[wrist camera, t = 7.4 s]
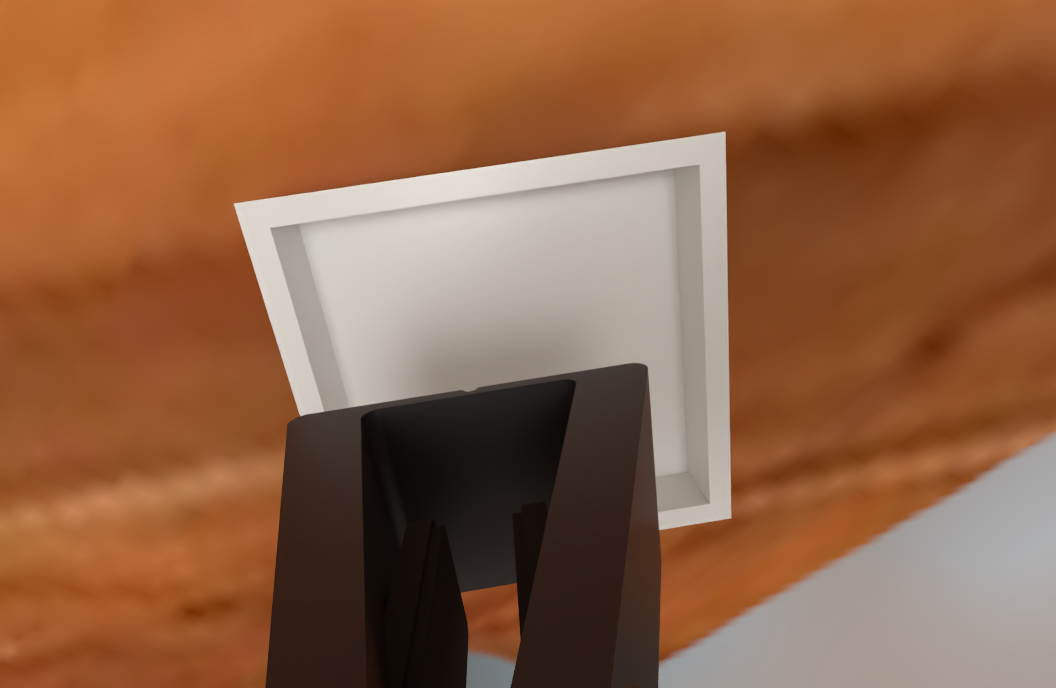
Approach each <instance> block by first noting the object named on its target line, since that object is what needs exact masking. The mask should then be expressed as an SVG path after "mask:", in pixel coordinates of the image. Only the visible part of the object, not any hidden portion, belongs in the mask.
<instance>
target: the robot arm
mask: <svg viewBox="0 0 1056 688" xmlns="http://www.w3.org/2000/svg"><path fill="white" fill-rule="evenodd" d="M521 511H522V512H517V513H512V519H513V533H514V548H515V562H516V577H517V591H518V606H519V620H520V635H521V638H522V633H523V628H524V624H525V619H526V614H527V610H528V605H529V601H530V596H531V591H532V587H533V582H534V577H535V573H536V568H537V564H538V559H539V554H540V550H541V545H542V540H543V536H544V531H545V526H546V522H547V517H548V513H547V507H546V502H545V501H541V502H535V503H529V504H523V505H521ZM385 628H386V642H387V656H388V670H389V684H390V688H466V676H467V655H468V625H467V619H466V615H465V610H464V606H463V602H462V597H461V593H460V588H459V584H458V580H457V575H456V571H455V567H454V562H453V558H452V554H451V549H450V545H449V541H448V536H447V532H446V528H445V526H444V525H439V526H436V523H435V520H427V521H421V522H415V523H409V524H407V526H406V530H405V534H404V538H403V542H402V546H401V550H400V554H399V558H398V562H397V566H396V570H395V574H394V578H393V582H392V586H391V590H390V594H389V598H388V602H387V606H386V610H385ZM633 688H639V687H637V686H636V685H633Z"/></svg>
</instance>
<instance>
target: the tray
mask: <svg viewBox="0 0 1056 688" xmlns="http://www.w3.org/2000/svg"><path fill="white" fill-rule="evenodd" d="M234 206H235V209H236V213H237V216H238V219H239V222H240V225H241V228H242V232H243V235H244V238H245V241H246V244H247V248H248V251H249V254H250V257H251V260H252V264H253V267H254V270H255V273H256V276H257V280H258V283H259V286H260V289H261V292H262V296H263V299H264V302H265V305H266V308H267V312H268V315H269V318H270V321H271V324H272V328H273V331H274V334H275V337H276V340H277V344H278V347H279V350H280V353H281V356H282V360H283V363H284V366H285V369H286V372H287V376H288V379H289V382H290V385H291V388H292V391H293V395H294V398H295V401H296V404H297V407H298V411H299V414H300V416H303V415H307V414H313V413H319V412H325V411H332V410H338V409H344V408H350V407H357V406H363V405H369V404H376V403H382V402H388V401H395V400H401V399H407V398H414V397H420V396H426V395H433V394H439V393H445V392H451V391H458V390H463V391H466V392H469V391H473V390H476V389H477V388H478V387H483V386H489V385H496V384H502V383H508V382H515V381H521V380H527V379H534V378H540V377H546V376H552V375H559V374H565V373H571V372H578V371H584V370H590V369H597V368H603V367H609V366H616V365H622V364H628V363H641V364H644V365H646V366H647V367H648V377H649V392H650V406H651V421H652V435H653V450H654V464H655V478H656V493H657V507H658V522H659V530H663V529H669V528H675V527H681V526H687V525H693V524H699V523H705V522H711V521H717V520H723V519H729V518H731V469H730V402H729V335H728V268H727V201H726V134H725V132H720V133H713V134H707V135H700V136H693V137H686V138H679V139H672V140H666V141H659V142H652V143H645V144H638V145H631V146H625V147H618V148H611V149H604V150H597V151H590V152H584V153H577V154H570V155H563V156H556V157H549V158H543V159H536V160H529V161H522V162H515V163H508V164H502V165H495V166H488V167H481V168H474V169H467V170H460V171H454V172H447V173H440V174H433V175H426V176H419V177H413V178H406V179H399V180H392V181H385V182H378V183H372V184H365V185H358V186H351V187H344V188H337V189H331V190H324V191H317V192H310V193H303V194H296V195H290V196H283V197H276V198H269V199H262V200H255V201H249V202H242V203H235V204H234Z"/></svg>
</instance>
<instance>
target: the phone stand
mask: <svg viewBox="0 0 1056 688" xmlns="http://www.w3.org/2000/svg"><path fill="white" fill-rule="evenodd" d="M541 501H545V502H546V507H547V513H548V517H547V522H546V526H545V531H544V536H543V540H542V545H541V550H540V554H539V559H538V564H537V568H536V573H535V577H534V582H533V587H532V591H531V596H530V601H529V605H528V610H527V614H526V619H525V624H524V628H523V633H522V638H521V642H520V647H519V651H518V656H517V661H516V665H515V670H514V675H513V679H512V684H511V688H633V685H636V686H637V687H639V688H658V670H659V631H660V591H661V550H660V536H659V522H658V507H657V493H656V478H655V464H654V450H653V435H652V421H651V406H650V392H649V377H648V367H647V366H646V365H644V364H641V363H628V364H622V365H616V366H609V367H603V368H597V369H590V370H584V371H578V372H571V373H565V374H559V375H552V376H546V377H540V378H534V379H527V380H521V381H515V382H508V383H502V384H496V385H489V386H483V387H478V388H477V389H476V390H473V391H469V392H466V391H463V390H458V391H451V392H445V393H439V394H433V395H426V396H420V397H414V398H407V399H401V400H395V401H388V402H382V403H376V404H369V405H363V406H357V407H350V408H344V409H338V410H332V411H325V412H319V413H313V414H307V415H303V416H300V417H297V418H295V419H293V420H292V421H290V422H289V423H288V425H287V437H286V449H285V461H284V473H283V485H282V497H281V509H280V520H279V532H278V544H277V556H276V568H275V580H274V592H273V604H272V616H271V628H270V640H269V652H268V664H267V676H266V688H390V684H389V670H388V656H387V642H386V628H385V610H386V606H387V602H388V598H389V594H390V590H391V586H392V582H393V578H394V574H395V570H396V566H397V562H398V558H399V554H400V550H401V546H402V542H403V538H404V534H405V530H406V526H407V524H409V523H415V522H421V521H427V520H435V523H436V526H439V525H444V526H445V528H446V532H447V536H448V541H449V545H450V549H451V554H452V558H453V562H454V567H455V571H456V575H457V580H458V584H459V588H460V592H466V591H472V590H478V589H484V588H490V587H495V586H501V585H507V584H513V583H517V577H516V562H515V548H514V533H513V519H512V513H517V512H522V511H521V505H523V504H529V503H535V502H541Z"/></svg>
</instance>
